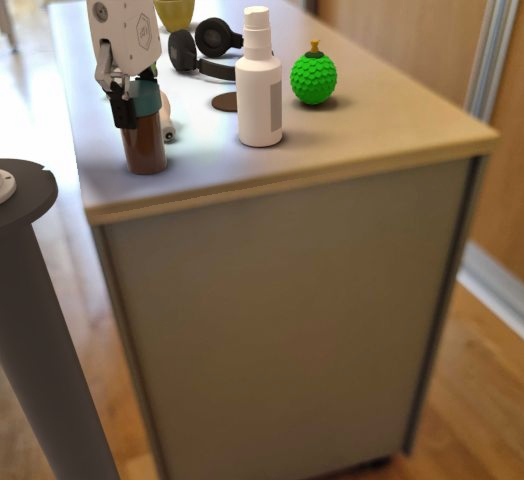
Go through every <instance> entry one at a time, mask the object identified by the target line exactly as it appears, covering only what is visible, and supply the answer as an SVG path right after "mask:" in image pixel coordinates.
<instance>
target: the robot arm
mask: <svg viewBox="0 0 524 480" xmlns="http://www.w3.org/2000/svg"><path fill="white" fill-rule="evenodd" d="M85 3H86V12H87V19H88V25H89V33H90V38H91V43H92V48H93V53H94V57H95V62H96V66H95V70H94V76H93V77H94V80H95V82H96V83H97V84H98V85H99V86H100V88H101V90H102V91H103V92H104V93H105V97H106V99H107V100H108V101H109V105H110V110H111V115H112V120H113V124H114V127H115V128H116V129H119V130H120V129H130V130H135V129H137V128H138V123H137V118H136V112H135V107H134V101H133V98H129V96H130V81H131V77H132V78H133V77H134V80H146V81H152V82H155V83H157V84H158V85H159V81H158V76H159V71H158V68H157V61H158V60H159V59H160V57H161V55H162V53H163V49H162V42H161V41H162V40H161V36H160V31H159V25H158V19H157V12H156V9H155V6H154V3H153V0H85ZM117 68H119V69H120V70H121V72H114V70H115V69H117ZM114 78H122V88H121V87H120V85H119V84H118V83H117V82H115V81H114ZM15 190H16V182H15V179H14V177H13V175H12V174H10V173H9V172H6V171H4V170H0V204H1V203H3V202H5V201H6V200H7V199H9V198H10V197H11V196H12V195H13V193H14V192H15Z"/></svg>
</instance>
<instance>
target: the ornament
mask: <svg viewBox="0 0 524 480" xmlns="http://www.w3.org/2000/svg"><path fill="white" fill-rule="evenodd" d="M319 43H320V41H319V39H311V40H310V45H311V48H310V50H308V51H306V52H305V53H304V54H303V55H301V56H299V58H298V59H296V61H295V62H294V65H293V66H292V67H291V69H290V74H289V78H290V80H289V81H290V82H289V83H290V86H291V91H292V92H293V93H294V95H295V97H296V98H297V99H298V100H300V102H303V103H305V104H307V105H311V106H312V105H319V104H321V103H324V102H325V101H326V100H328V98H330V97H331V95H332V93H333V92H335V89H336V87H337V86H336V85H337V84H338V73H337V72H338V70H337V67H336V66H335V63H334V61H333V60H332V59H331V58H330V57H329V56H328V55H326V54H325V53H324V52H323V51H321V50H319V47H318V46H319Z"/></svg>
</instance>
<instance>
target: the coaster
mask: <svg viewBox="0 0 524 480" xmlns="http://www.w3.org/2000/svg"><path fill="white" fill-rule="evenodd" d="M210 103H211V107H212V108H214V109H216V110H217V111H220V112H227V113H238V110H237V92H236V91H228V92H224V93H220V94H218V95H216V96H214V97H213V98H212V99H211V102H210Z"/></svg>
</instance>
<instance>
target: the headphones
mask: <svg viewBox="0 0 524 480" xmlns="http://www.w3.org/2000/svg"><path fill="white" fill-rule="evenodd" d="M243 44H244V34H243V33H242V34H241V33H238V32H235V31H233V30H232V29H231V27H230V25H229V24H228V23H227V22H226V21H225V20H224V19H222V18H220V17H216V16H213V17H208V18H206V19H204V20H202V21H201V22H199V23H198V25H197V26H196V27H195V31H194V35H192V34H191V32H190V31H189V30H183V29H181V30H179V31H174V32H170V34H169V35H168V39H167V53H168V57H169V60H170V63H171V65H172V67H173V68H174V70H175V71H177V72H179V73H184V72H187V73H188V72H191V71H196V70H198V74H201V75H204V76H207V77H210V78H213V79H218V80H222V81H227V82H236V75H235V65H226V64H221V63H217V62H213V61H210V60H207V59H204V58H202V57H200V58H198V51H199V52H200V53H201V54H202V55H203V56H205V57H207V58H210V59H217V58H221V57H222V56H225V54H226V53H227V52H228V51H229V50H231V49H236V50H241V49H242V48H244V45H243ZM197 49H198V51H197ZM272 55H273V56H274V57H275V54H274V51H273V50H272Z"/></svg>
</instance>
